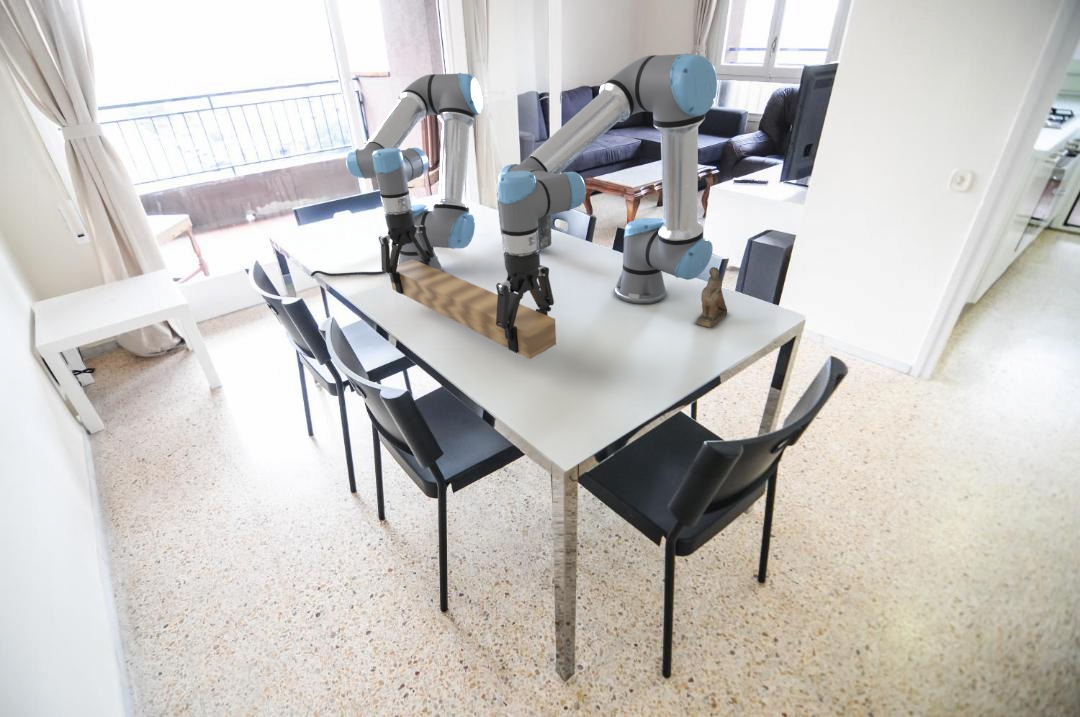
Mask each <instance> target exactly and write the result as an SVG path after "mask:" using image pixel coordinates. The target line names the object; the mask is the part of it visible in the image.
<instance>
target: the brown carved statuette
mask: <svg viewBox="0 0 1080 717" xmlns="http://www.w3.org/2000/svg"><path fill="white" fill-rule="evenodd" d="M708 273H709V275H710V276H709V278H708V279H707V280H708V281H707V284H706V286H705V287H704V288H703V290H702V292H701V297H700V298H701V309H702V312H701V315H700V316H699V317H698V318H697V319H696V321H695V324H696V325H699V326H703V327H705V328H712V327H714V326H715V325H716V324H717V323H719V321H721V320H722V319H723V318H725V317H726V316H727V315H728V307H727V304H726V301H725V298H724V293H723V290H722V287H723V281H722V279H721V278H720V270H719V269H718V268H717V267H715V266H712V267H711V268H710V269H709V270H708Z"/></svg>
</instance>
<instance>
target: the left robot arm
mask: <svg viewBox="0 0 1080 717" xmlns="http://www.w3.org/2000/svg"><path fill="white" fill-rule="evenodd" d="M396 100H397V101H396V103H397V104H396V105H395V106H394V108H393V109H392V110H391V111H390V112H389V114H388V115H387V117H386V118H385V119H383V121H382V123H381V124H380V125H379V127H377V129H376V131H375V132H374V133H373V135H371V136H370V138H369V139H368V140H367V142H366V143H365V145H363V147H362V148H361V149H359V148H356V149H351V150H349V151H348V152H347V154H346V157H345V166H346V168H347V170H348V173H349V174H350V175H351V176H352V177H355V178H359V179H361V178H362V179H365V180H367V179H376V182H377V185H378V189H379V194H380V200H381V206H382V209H383V211H384V212H385V213H384V219H385V224H386V227H387V229H388V230H387V234H386V235H380V236H378V241H379V243H380V258H381V260H380V261H381V271H356V272H355V271H352V272H351V271H350V272H338V273H337V272H336V273H335V272H334V273H331V272H326V271H322V270H314V271H312V272H311V274H310V276H311V277H314V276H315V275H316V274H320V275H323V276H328V277H343V276H344V277H345V276H357V275H358V276H360V275H363V276H364V275H365V276H366V275H368V276H369V275H384V274H389V273H390V275H389V279H390V278H391V279H390V282H391V281H392V283H394V284H395V288H396V291H395V292H396V293H398V294H400V295H403V288H402V284H401V279H400V274H399V272H397V271H396V270H397V265H398V264H400V263H403V262H406V261H409V260H412V259H414V260H416V261H419V262H421V263H423V264H426V265H428V266H430V267H433V268H435V269H438V270H440V271H442V272H443V268H442V264H441V263H440V260H439V257H438V255H437V254H436V252H435V250H434V248H441V249H442V248H443V249H451V250H455V249H465V248H467V247H468V246H469V245H470V243H471V242H472V241H473V238H474V234H475V228H476V223H475V216H474V215H473V214H472V213H471V212H470V207H469V206H468V204H466V191H467V190H466V188H467V175H468V158H469V157H468V156H469V142H470V141H469V140H470V128H471V127H472V126H473V125H475V120H476V116H479V115H480V114H481V113H482V111H483V106H484V105H483V103H484V102H483V95H482V90H481V87H480V84H479V82H478V80H477V78H476V77H475V76H474V75H473V74H472V73H462V72H458V73H438V74H437V73H436V74H434V73H432V74H431V73H429V74H426V75H423V76H421V77H419V78H417V79H415V80H414V81H413V82H411V83H410V84H409V85H408V86H406V87H405V88H404V89H403V90H402V92H400V94H399V95H398V97H397V99H396ZM429 116H437V118H438V120H439V121H440V122H441V123H442V130H441V145H440V146H441V147H440V164H439V168H440V169H439V180H438V181H439V182H438V184H439V185H438V199H437V200H436V201H435V202H434V203H433V205H432V206H433V208H432V210H429V208H428V206H427V205H426V204H414V205H412V200H411V195H410V190H409V183H410V182H411V181H413V180H415V179H418V178H421V177H422V176H423V175H424V174H425V173H426V172H428V169H429V165H430V164H429V159H428V156H427V154H426V152H424V151H423V150H422V149H421V148H419V147H409V148H405V149H400V147H401V146H402V144H403V143H404V141H405V140H406V139H407V137H408V136H409V134H410V133H411V132H412V131H413V129H414V128H415V126H416V125H417V123H420V122H423V121H424V119H425V118H426V117H429ZM390 240H391V241H390ZM390 243H391V248H390ZM390 249H391V251H390Z"/></svg>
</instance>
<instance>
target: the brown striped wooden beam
mask: <svg viewBox="0 0 1080 717" xmlns="http://www.w3.org/2000/svg"><path fill="white" fill-rule="evenodd" d="M396 271H397V272H399V274H400V279H401V284H402V288H403V294H402V295H403V296H405V297H407V298H409V299H410V300H413V301H415V302H417V303H418V304H421V305H423V306H425V307H427V308H429V309H431V310H432V311H435V312H436V313H438V314H440V315H441V316H444V317H446V318H448V319H450V320H453V322H456V323H458V324H460V325H462V326H464V327H466V328H468V329H470V330H472V331H474V332H476V333H478V334H479V335H482V336H483V337H485V338H487V339H490V340H491V341H492V342H495V343H497V344H499V345H501V346H503V347H505V348H507V349H508V340H507V339H506V338H505V331H504V329H503V328H501V327H498V326H496V315H497V299H498V293H495V292H492V291H490V290H487V289H485V288H483V287H480V286H478V285H476V284H473V283H471V282H468V281H466V280H463V279H461V278H459V277H456V276H454V275H452V274H449V273H447V272H444V271H443V270H442V271H440V270H438V269H435V268H433V267H430V266H428V265H426V264H423V263H421V262H419V261H416V260H414V259H412V260H409V261H406V262H403V263H400V264H399V263H398V265H397V270H396ZM388 276H390V273H388ZM389 279H390V284H391V287H392V290H394V291H395V292H396V288H395V284H394V283H392V281H391V278H390V277H389ZM508 322H509V321H508ZM514 326H516V327H517V337H518V349H519V352H518V353H517V354H519V355H521V356H522V357H524V358H527V359H528V360H531V359H533V358H535V357H536V356H538V355H541V354H542V353H544V352H545V351H547V350H549V349H550V348H551V349H552V347H554V346H556V345H557V331H556V330H557V329H556V328H557V327H556V318H554V317H552V316H549V315H548V316H547V315H545V314H543V313H540V312H538V311H536V309H533V308H531V307H528V306H526V305H523V304H521V303H519V307H518V311H517V315H516V319H515V322H514Z"/></svg>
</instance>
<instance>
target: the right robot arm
mask: <svg viewBox="0 0 1080 717" xmlns="http://www.w3.org/2000/svg"><path fill="white" fill-rule="evenodd" d="M717 91H718V78H717V73H716V69H715V66H714V65H713V63H712V62H710V61H709V59H708V58H707V57H705V56H704V55H700V54H692V53H678V54H676V53H675V54H661V55H657V54H656V55H655V54H654V55H653V54H652V55H646V56H643V57H640V58H638V59H636V60H634V61H633V62H631V63H629V64H628V65H626V66H625V67H623V68H622V69H620V70H618V72H616V73H615V74H614V75H612V76H611V77H610V78H609V79H608V80H607V81H606V82H604V83H603V84H602V85H601V86H600V88H599V91H598V94H597V95H596V96H595V97H594V98H593V99H592V100H591V101H589V102H588V104H586V105H585V106H584V107H582V109H581V110H580V111H578V112H577V113H576V114H575V115H574V116H573V117H572V118H570V119H569V120H568V121H567V122H565V123H564V125H562V126H561V127H560V128H559V129H558V130H556V131H555V133H553V134H551V136H550V137H549V138H548V139H547V140H546V141H544V142H543V143H542V144H541V145H540V146H538V147H537V148H536V149H535V150H534V151H533V152H531V153H530V154H529V155H528V156H527V157H526V158H525V159H524V160H523V161H521V162H520V163H519V164H517V163H513V164H507V165H506V166H504V167H503V168H502V169H501V170H500V172H499V174H498V179H497V193H498V198H497V202H498V201H499V208H500V218H501V227H502V235H501V238H502V250H503V251H504V253H503V259H504V260H503V261H504V268H505V271H506V272H507V276H506V280H505V281H504V282H502V283H500V282H497V283H496V286H495V289H496V293H497V295H498V299H497V315H496V326H498V327H501V328H503V329H504V331H505V338H506V339H507V340H508V348H507V349H508V350H509V351H511V352H514V353H515V354H519V353H518V352H519V349H518V337H517V327H516V326H514V322H515V319H516V315H517V311H518V307H519V304H521V300H522V299H524V298H523V297H524V294H526V293H527V292H529V293H530V295H531V297H532V299H533V301H534V302H535V304H536V306H537V308H536V309H535V311H538V312H540V313H543V314H545V315H547V316H549V314H548V313H549V312H551V311H552V307H551V306H554V304H555V300H554V296H553V292H552V291H553V290H552V286H551V282H550V276H549V275H550V268H549V267H547V266H544V265H543V264H542V265H541V258H540V257H541V256H540V250H538V248H539V240H538V218H541V217H544V216H548V215H551V216H553V215H555V214H559V213H564V212H570V211H571V210H573V209H576V208H578V207H580V206H582V204H583V203H584V201H585V199H586V184H585V182H584V179H583V177H582V176H581V175H580V174H579V173H577V172H576V171H568V172H567V171H565V169H567V168H568V167H569V166H570V165H571V164H572V163H574V162H575V161H576V160H577V159H578V158H579V157H580V156H581V155H583V153H584V152H586V151H587V150H588V149H589V148H590V147H591V146H592V145H593V144H594V143H596V142H597V141H598V140H599V139H600V138H602V136H604V134H606V133H607V132H608V131H609V130H610V129H612V128H613V126H615V125H616V124H617V123H618V122H620V123H622V122H625V121H627V120H628V119H629V118H630V117H632V115H635V114H637V113H642V112H643V113H644V112H647V113H652V119H653V120H652V122H653V124H652V125H653V127H654V128H655V129H656V130H658V131H659V132H660V155H661V157H660V158H661V181H662V182H661V183H662V184H661V186H662V212H663V213H662V214H663V215H662V216H663V218H660V217H646V218H639V219H634V220H631V221H629V222H627V224H626V225H625V228H624V235H623V253H622V270H621V273H620V275H619V277H618V280H617V283H616V286H615V291H614V292H615V296H616V298H618V299H619V300H621V301H623V302H626V303H630V304H636V305H648V304H649V305H650V304H655V303H658V302H660V301H662V300H663V299H664V298H665V297H666V285H665V282H664V276H663V273H665V274H668V275H670V276H673V277H675V278H677V279H678V278H679V279H682V280H687V281H690V280H694V279H696V278H697V277H699V276H700V275H701V274H702V273H703V272H704V271H705V269H706V268H707V266H708V265H709V263H710V261H711V258H712V255H713V244H712V242H711V241H710V240H709V239H708V238H704V226H703V224H702V223H701V222H699V221H698V201H699V200H698V193H699V192H698V191H699V190H698V188H699V187H698V186H699V185H698V184H699V183H698V182H699V181H698V180H699V178H698V177H699V174H698V173H699V126H700V125H701V124H702V123H703V122H704V121H705V119H706V114H707V112H709V111H710V110H711V108H712V107H713V105H714V103H715V102H714V99H716V96H717V93H718V92H717ZM508 321H509V322H508Z"/></svg>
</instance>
